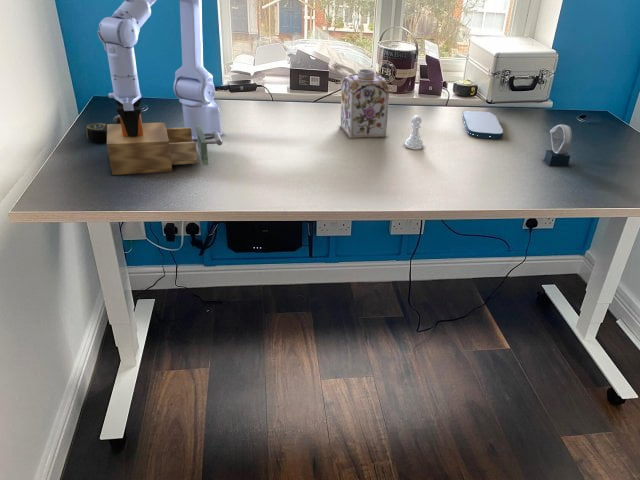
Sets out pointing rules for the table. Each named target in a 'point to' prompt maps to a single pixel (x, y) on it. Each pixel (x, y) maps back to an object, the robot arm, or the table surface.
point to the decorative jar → (364, 105)
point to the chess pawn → (414, 135)
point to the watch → (559, 153)
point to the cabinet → (139, 150)
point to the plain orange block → (140, 129)
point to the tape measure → (96, 132)
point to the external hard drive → (482, 124)
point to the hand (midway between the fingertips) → (132, 132)
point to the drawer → (189, 145)
